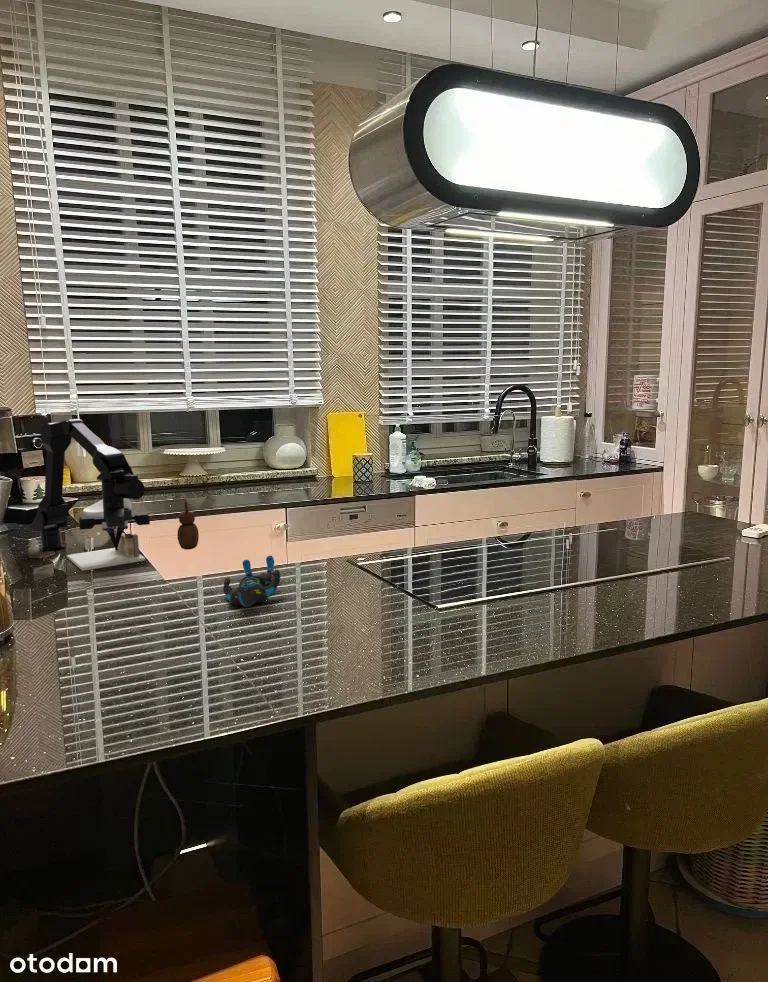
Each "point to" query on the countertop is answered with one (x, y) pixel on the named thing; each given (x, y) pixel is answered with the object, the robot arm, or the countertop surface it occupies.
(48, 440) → the robot arm
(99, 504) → the spoon rest
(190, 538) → the wooden figurine
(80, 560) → the white flat posted base
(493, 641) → the countertop surface
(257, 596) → the figurine
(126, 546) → the gate
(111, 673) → the countertop surface
